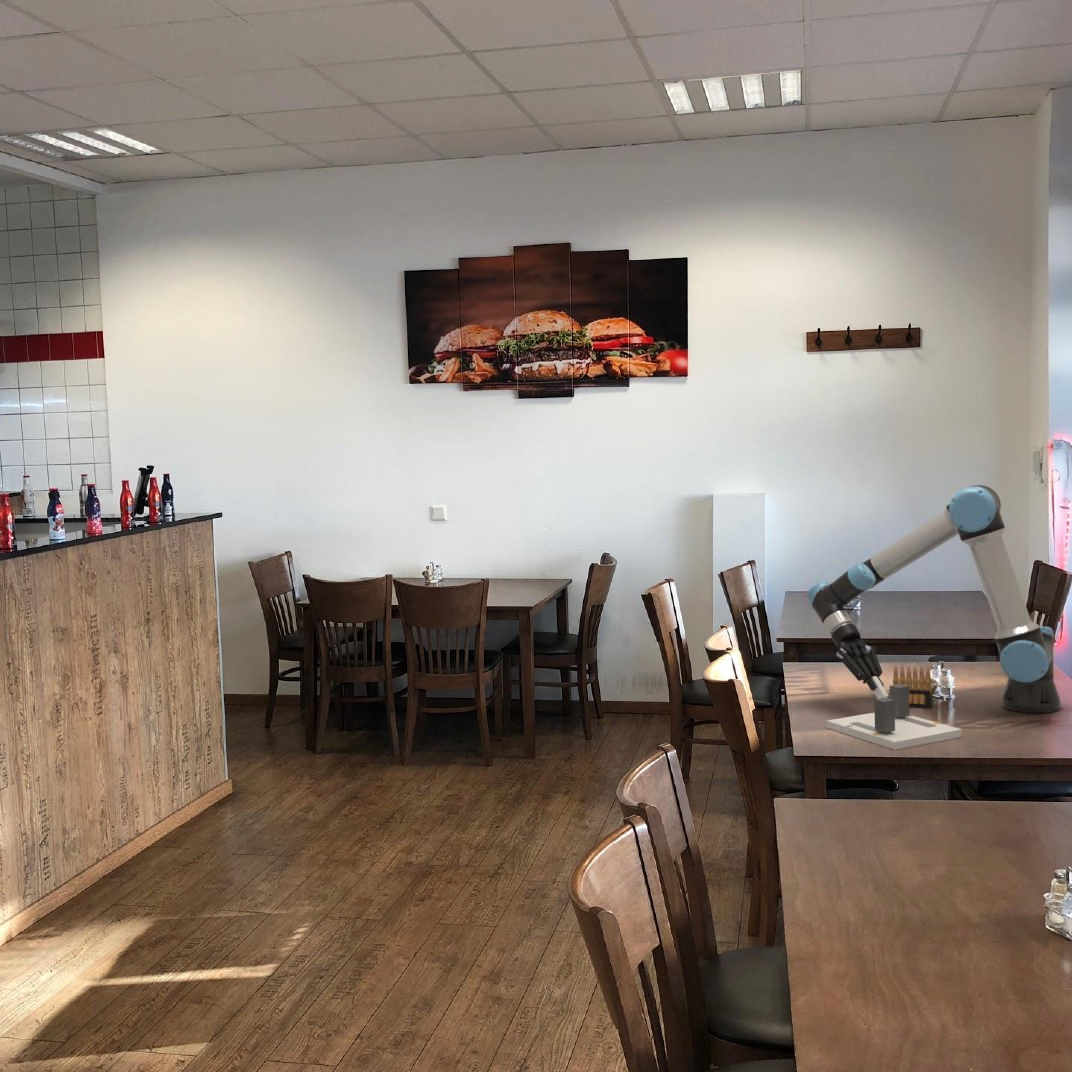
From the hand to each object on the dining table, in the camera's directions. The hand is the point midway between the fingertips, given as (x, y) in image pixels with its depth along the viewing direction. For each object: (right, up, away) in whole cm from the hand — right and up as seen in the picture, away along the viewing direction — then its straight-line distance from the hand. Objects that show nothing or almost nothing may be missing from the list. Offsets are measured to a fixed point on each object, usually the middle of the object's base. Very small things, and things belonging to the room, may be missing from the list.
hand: (884, 698), depth 307 cm
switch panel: (-2, -7, -12) cm, 14 cm away
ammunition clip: (+13, -5, +14) cm, 20 cm away
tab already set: (-6, -5, -20) cm, 22 cm away
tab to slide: (+3, -4, -5) cm, 7 cm away
